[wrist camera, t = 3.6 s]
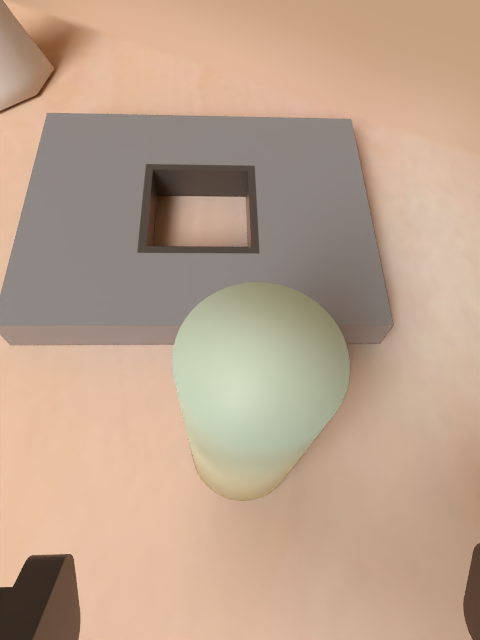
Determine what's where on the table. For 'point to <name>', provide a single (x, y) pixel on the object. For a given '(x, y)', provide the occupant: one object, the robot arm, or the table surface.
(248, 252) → the socket plate
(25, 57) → the flask
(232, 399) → the peg
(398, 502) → the table surface
